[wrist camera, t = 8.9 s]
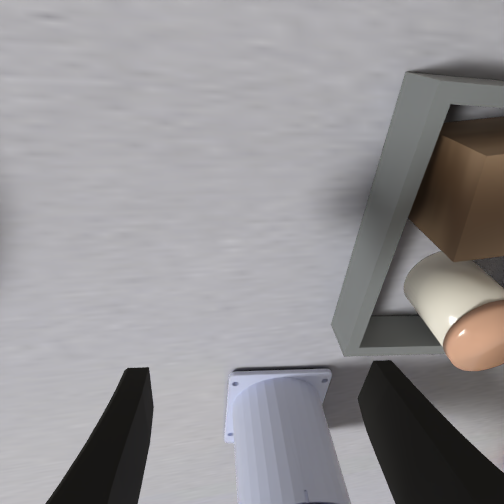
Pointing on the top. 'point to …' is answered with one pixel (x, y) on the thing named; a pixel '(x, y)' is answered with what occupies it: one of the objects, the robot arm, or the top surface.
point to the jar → (460, 310)
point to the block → (464, 191)
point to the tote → (399, 213)
